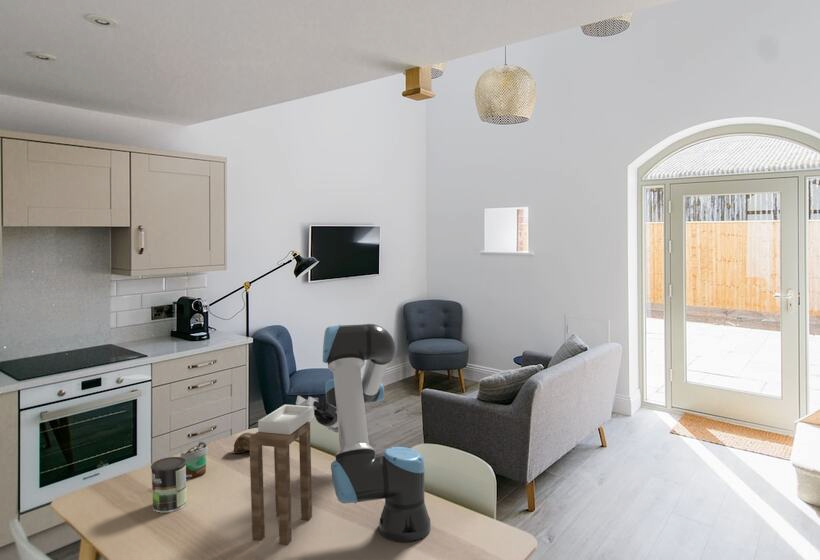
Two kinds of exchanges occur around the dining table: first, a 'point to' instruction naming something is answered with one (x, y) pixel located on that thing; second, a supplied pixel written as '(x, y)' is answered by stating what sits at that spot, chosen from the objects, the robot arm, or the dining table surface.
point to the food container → (195, 460)
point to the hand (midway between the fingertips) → (303, 400)
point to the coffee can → (169, 484)
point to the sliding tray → (286, 418)
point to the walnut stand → (280, 480)
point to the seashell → (242, 443)
